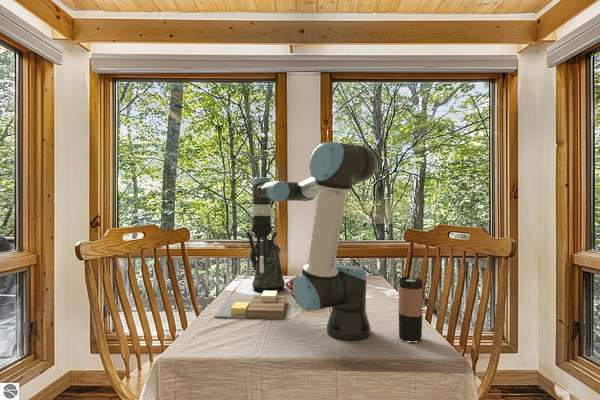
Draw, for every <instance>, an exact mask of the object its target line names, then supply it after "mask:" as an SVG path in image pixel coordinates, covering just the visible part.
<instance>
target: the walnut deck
mask: <svg viewBox="0 0 600 400" xmlns="http://www.w3.org/2000/svg"><path fill="white" fill-rule="evenodd" d="M251 300H252V302H251V304H250V305H249V307H248V309H247V317H246V319H283V318H284V314H285V309H286V306H287V295H277V299H276V302H261V295H257V294H256V295H254V297H252V299H251Z"/></svg>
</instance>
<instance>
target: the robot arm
mask: <svg viewBox="0 0 600 400" xmlns="http://www.w3.org/2000/svg"><path fill="white" fill-rule="evenodd" d="M308 167H309V171H310V172H309V173H310V177H308V178H306V179H305V180H301V181H297V182H296V181H283V180H282V181H281V180H274V181H272V180H271V178H270V177H254V178H253V180H252V187H251V188H252V227H251V229H250V230H249V231H247V232H246V233H245V234H246V236H247V238H248V241H249V246H250V249H251V251H252V254H253V255H255V256H256V260H257V264H260V273H263V272H264V264H266V263H267V256H268V255H270V254H271V251H272V247H273V243H275V238H276V236H277V235H278V232H277V231H276V230H273V227H272V216H271V214H272V202H273V201H275V202H280V201H281V202H282V201H283V202H285V201H286V202H287V201H291V202H295V201H296V202H297V201H298V202H299V201H300V202H309V201H313V200H315V198H316V196H317V199H316V206H315V207H316V208H315V214H314V218H313V219H314V221H313V227H312V234H311V239H310V241H311V242H310V247H309V249H310V250H309V255H308V260H307V262H306V263H303V266H302V272H301V273H300V274H298V275H296V276H295V277H294V278H293V281H292V292H293V295H294V298H295V301H296V303H297V304H298V306H299V307H300V308H301V309H302V310H305V311H307V312H309V311H310V312H311V311H319V310H322V309H328V308H331V311H330V315H329V318H328V320H327V324H326V333H327V335H329V336H330V337H332V338H334V339H338V340H344V341H361V340H365V339H367V338H369V337H370V336H371V333H372V332H371V324H370V322H369V318H368V315H367V311H366V309H367V307H366V306H367V305H366V304H367V275H366V274H367V273H366V271H365V269H364V268H362V267H358V266H352V265H346V264H336V258H337V252H338V246H339V240H340V236H341V235H340V233H341V227H342V221H343V214H344V209H345V208H344V207H345V202H346V196H347V194H348V193H350V192H351V191H352V189H353V185H358V184H360V183H363V182H366V181H368V180H370V179H371V178H372V177H374V175H375V173H376V171H377V167H378V160H377V157H376V155H375V153H374V152H373V151H372V150H371V149H370V148H369V147H367V146H364V145H360V144H351V143H344V142H338V141H335V142H334V141H325V142H322V143H320V144H318V146H317V147H316V148H315V149H314V150H313V152H312V153H311V156H310V159H309V165H308ZM253 235H254V236H255V238H256V243H257V252H256V251H255V243H254V239H253ZM269 235H270V236H271V239H270V240H271V242H270V246H269V250H268V252H267V240H268V239H267V238H268V236H269ZM261 238H262V241H263V256H260V242H261Z"/></svg>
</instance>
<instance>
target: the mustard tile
mask: <svg viewBox="0 0 600 400" xmlns="http://www.w3.org/2000/svg"><path fill="white" fill-rule="evenodd" d="M249 305H250V302H235V303H234V304H233V306H232V307H231V315H246V314H247V309H248V307H249Z"/></svg>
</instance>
